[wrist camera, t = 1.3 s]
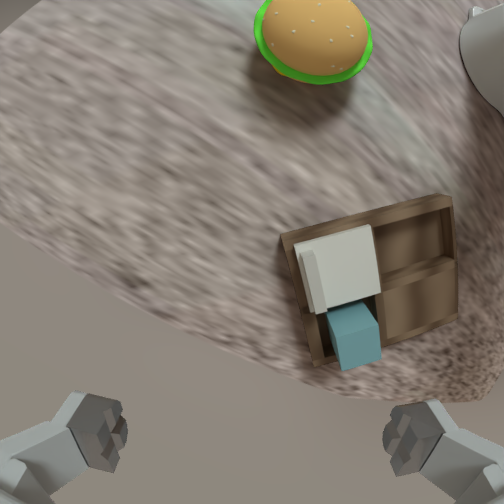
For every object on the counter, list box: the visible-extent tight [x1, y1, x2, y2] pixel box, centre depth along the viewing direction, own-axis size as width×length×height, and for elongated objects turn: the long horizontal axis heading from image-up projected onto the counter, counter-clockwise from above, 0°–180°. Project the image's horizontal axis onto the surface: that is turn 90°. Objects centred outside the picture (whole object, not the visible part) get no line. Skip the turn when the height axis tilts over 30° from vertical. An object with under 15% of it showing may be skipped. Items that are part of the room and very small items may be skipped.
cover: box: [294, 224, 381, 314], centre depth 30 cm, size 8×8×3 cm
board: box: [280, 193, 458, 367], centre depth 34 cm, size 20×16×4 cm
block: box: [325, 299, 382, 371], centre depth 33 cm, size 4×4×7 cm
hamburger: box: [254, 0, 373, 85], centre depth 25 cm, size 12×12×9 cm
